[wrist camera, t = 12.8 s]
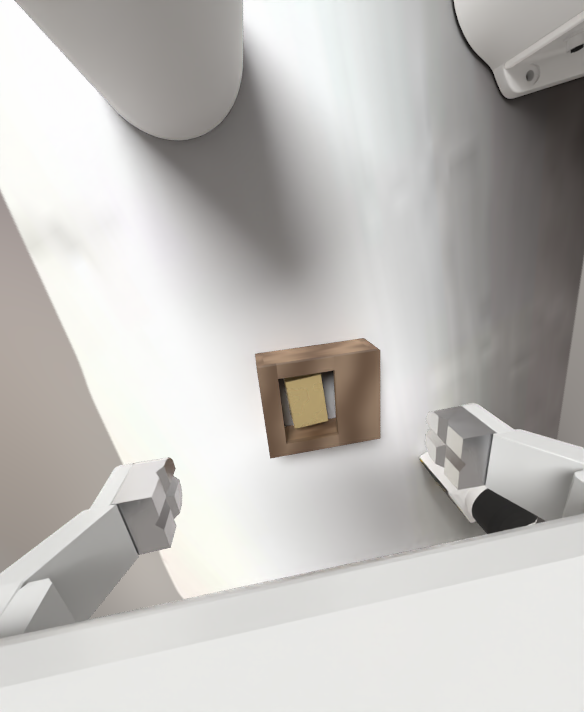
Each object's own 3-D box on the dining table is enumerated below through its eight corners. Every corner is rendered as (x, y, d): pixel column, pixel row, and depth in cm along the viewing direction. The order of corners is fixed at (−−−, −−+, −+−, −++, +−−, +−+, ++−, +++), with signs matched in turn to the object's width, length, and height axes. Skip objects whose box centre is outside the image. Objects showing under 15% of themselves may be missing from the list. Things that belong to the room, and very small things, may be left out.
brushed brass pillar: (313, 363, 36) (320, 374, 33) (321, 406, 38) (328, 420, 35) (281, 370, 36) (285, 382, 33) (290, 413, 38) (295, 428, 35)
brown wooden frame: (363, 338, 36) (380, 350, 32) (365, 418, 40) (380, 438, 35) (255, 353, 35) (256, 368, 30) (267, 435, 38) (270, 458, 34)
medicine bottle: (417, 456, 43) (477, 528, 32) (458, 427, 43) (535, 489, 31) (438, 485, 46) (502, 561, 34) (478, 457, 45) (556, 525, 34)
